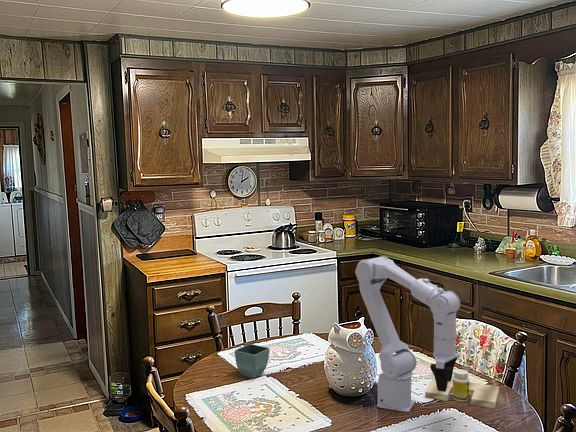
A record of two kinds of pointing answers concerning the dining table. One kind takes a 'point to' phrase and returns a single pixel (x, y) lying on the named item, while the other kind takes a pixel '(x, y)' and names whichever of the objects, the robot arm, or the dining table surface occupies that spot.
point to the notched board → (479, 393)
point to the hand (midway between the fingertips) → (444, 385)
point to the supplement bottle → (461, 385)
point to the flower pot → (252, 360)
